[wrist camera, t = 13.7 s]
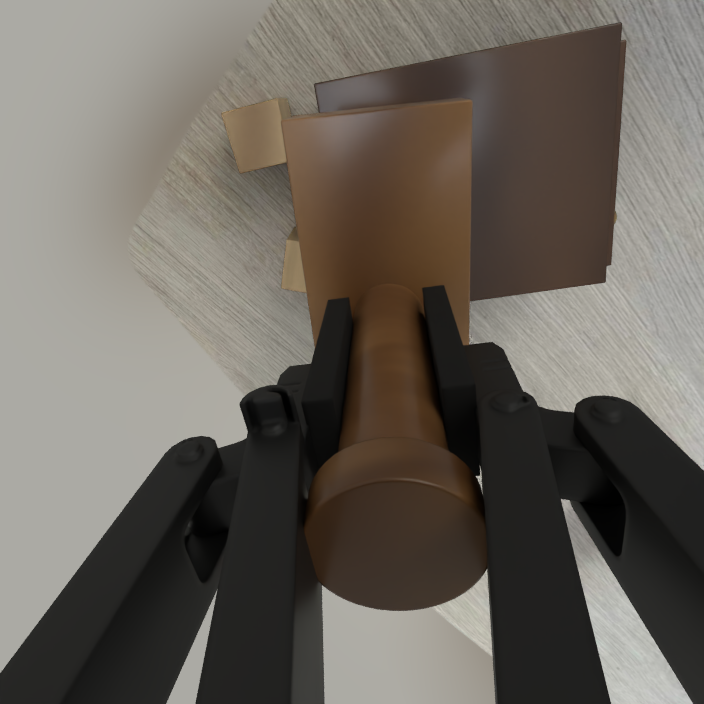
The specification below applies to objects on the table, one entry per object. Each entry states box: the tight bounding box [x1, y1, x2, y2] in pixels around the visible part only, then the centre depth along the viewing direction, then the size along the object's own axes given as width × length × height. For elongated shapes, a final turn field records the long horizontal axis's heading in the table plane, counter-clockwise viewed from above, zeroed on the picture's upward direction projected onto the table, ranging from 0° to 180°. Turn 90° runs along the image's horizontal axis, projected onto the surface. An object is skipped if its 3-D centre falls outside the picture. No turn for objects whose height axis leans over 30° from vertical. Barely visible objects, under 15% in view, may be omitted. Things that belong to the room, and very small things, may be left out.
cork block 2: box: [281, 227, 306, 293], centre depth 40 cm, size 4×4×4 cm
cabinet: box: [314, 22, 626, 301], centre depth 33 cm, size 18×14×10 cm
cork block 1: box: [221, 98, 292, 173], centre depth 36 cm, size 4×4×4 cm
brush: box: [281, 98, 487, 611], centre depth 16 cm, size 6×14×15 cm, turn 6°
